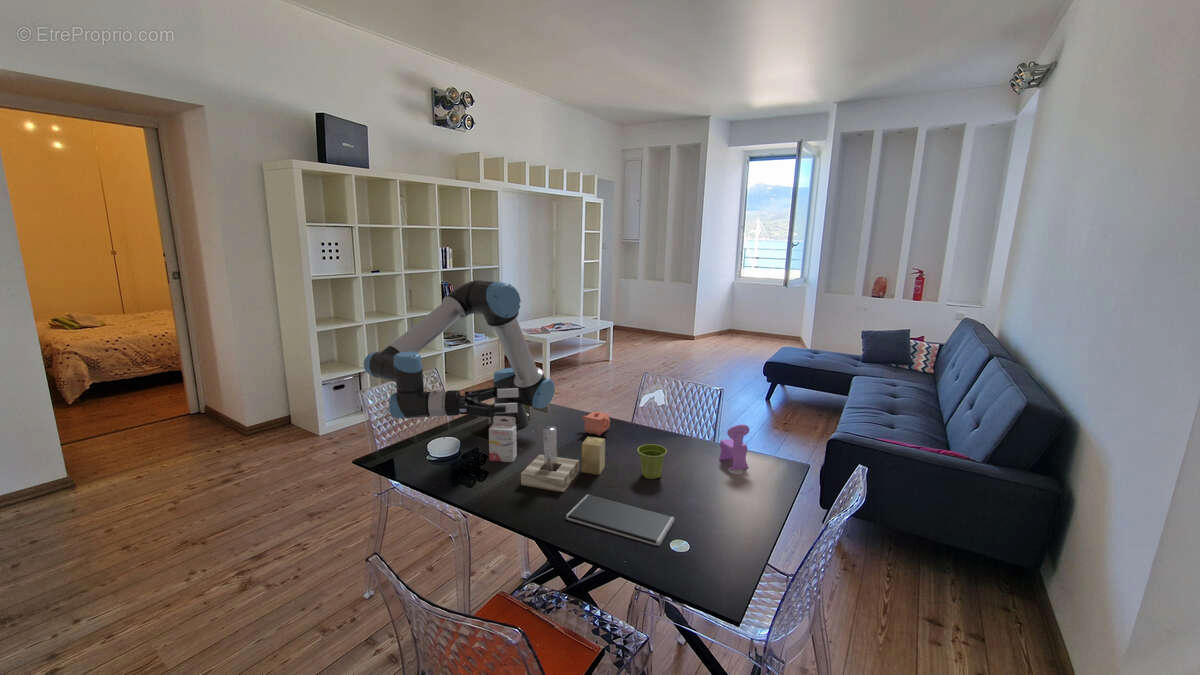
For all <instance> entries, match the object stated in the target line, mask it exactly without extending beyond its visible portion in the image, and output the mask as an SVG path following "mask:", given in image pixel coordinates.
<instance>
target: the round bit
mask: <svg viewBox="0 0 1200 675" xmlns="http://www.w3.org/2000/svg"><path fill="white" fill-rule="evenodd" d="M542 430H543V432H542V433H543V435H542V436H543V455H544V470H548V471H555V472H556V471H557V457H558V456H557V455H558V449H557V444H558V443H557V427H555V426H552V425H551V426H550V425H549V426H544V427H543V428H542Z"/></svg>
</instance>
